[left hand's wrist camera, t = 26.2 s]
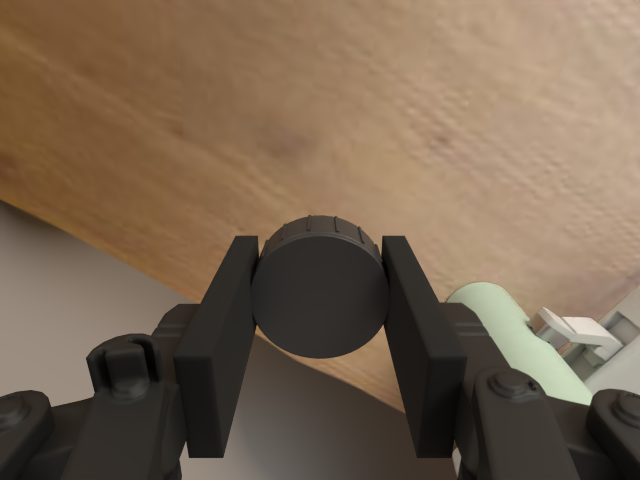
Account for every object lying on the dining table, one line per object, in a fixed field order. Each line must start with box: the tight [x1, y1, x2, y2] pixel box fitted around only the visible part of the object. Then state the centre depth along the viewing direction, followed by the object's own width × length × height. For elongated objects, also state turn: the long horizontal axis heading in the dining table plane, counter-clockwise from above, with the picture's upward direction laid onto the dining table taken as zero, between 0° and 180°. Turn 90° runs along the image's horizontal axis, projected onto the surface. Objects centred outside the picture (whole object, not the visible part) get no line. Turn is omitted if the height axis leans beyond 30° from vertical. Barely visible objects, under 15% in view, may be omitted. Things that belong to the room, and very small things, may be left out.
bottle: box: [446, 282, 593, 406], centre depth 22 cm, size 6×6×23 cm
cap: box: [250, 215, 390, 359], centre depth 14 cm, size 4×4×2 cm
